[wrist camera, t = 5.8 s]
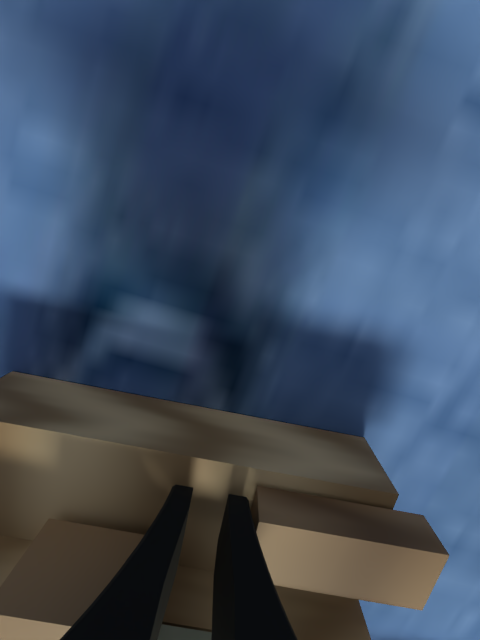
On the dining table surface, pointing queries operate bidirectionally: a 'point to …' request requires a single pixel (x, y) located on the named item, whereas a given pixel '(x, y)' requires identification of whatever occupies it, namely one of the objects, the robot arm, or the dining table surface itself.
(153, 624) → the robot arm
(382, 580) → the wooden block
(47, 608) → the lid
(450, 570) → the dining table surface
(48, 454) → the tan shallow box
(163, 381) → the dining table surface
